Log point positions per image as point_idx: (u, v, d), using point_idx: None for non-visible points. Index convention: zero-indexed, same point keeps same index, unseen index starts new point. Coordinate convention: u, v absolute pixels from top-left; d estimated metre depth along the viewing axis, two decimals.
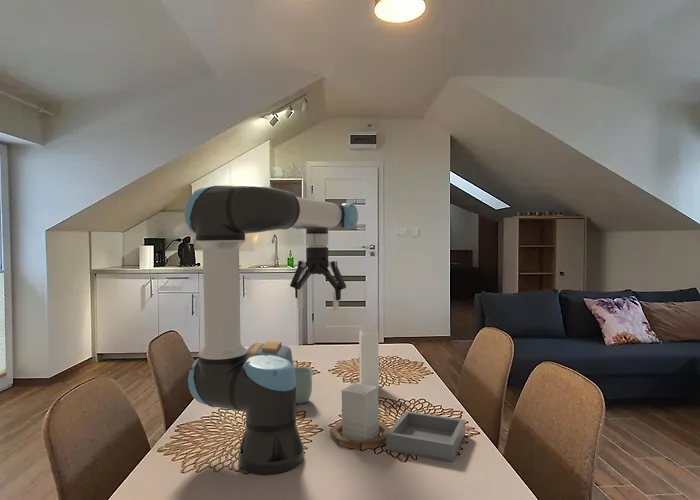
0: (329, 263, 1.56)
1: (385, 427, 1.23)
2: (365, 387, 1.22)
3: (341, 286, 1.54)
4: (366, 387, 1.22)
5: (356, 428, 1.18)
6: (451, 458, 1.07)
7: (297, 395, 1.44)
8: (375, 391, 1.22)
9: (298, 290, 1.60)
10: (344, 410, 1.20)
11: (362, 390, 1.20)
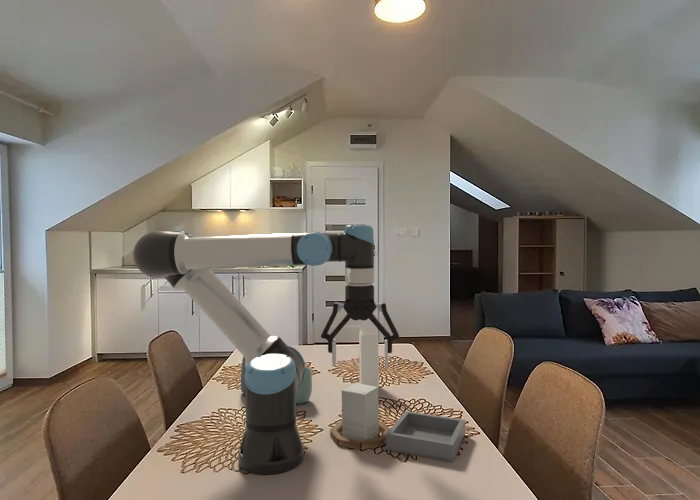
0: (377, 306, 1.21)
1: (385, 427, 1.23)
2: (365, 387, 1.22)
3: (396, 335, 1.20)
4: (366, 387, 1.22)
5: (356, 428, 1.18)
6: (451, 458, 1.07)
7: (297, 395, 1.44)
8: (375, 391, 1.21)
9: (333, 342, 1.21)
10: (344, 410, 1.20)
11: (362, 390, 1.20)
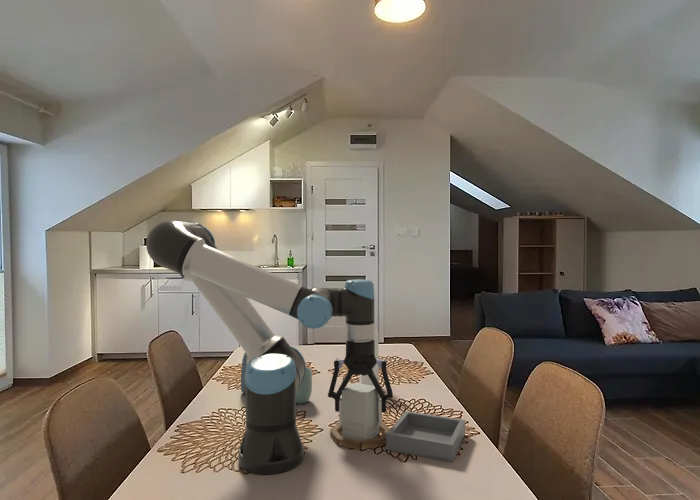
0: (378, 362, 1.21)
1: (385, 427, 1.23)
2: (365, 386, 1.22)
3: (390, 395, 1.20)
4: (366, 387, 1.22)
5: (356, 428, 1.18)
6: (451, 458, 1.07)
7: (297, 395, 1.44)
8: (376, 391, 1.22)
9: (340, 401, 1.21)
10: (344, 410, 1.20)
11: (362, 390, 1.20)
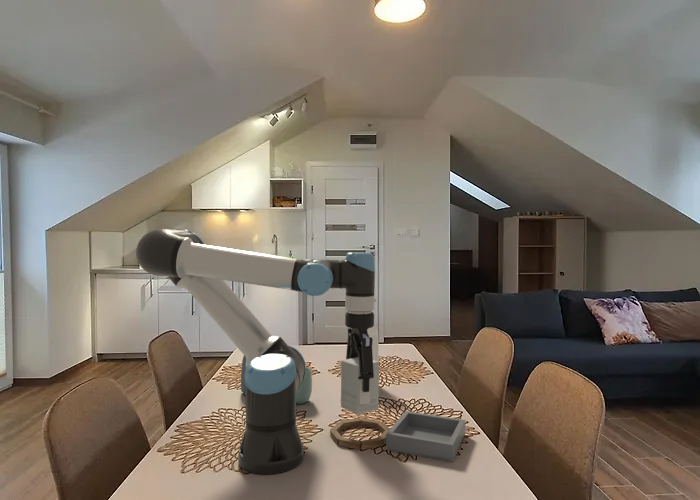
0: (363, 338, 1.17)
1: (385, 427, 1.23)
2: None
3: (363, 375, 1.14)
4: None
5: (351, 399, 1.19)
6: (451, 458, 1.07)
7: (297, 395, 1.44)
8: (375, 366, 1.20)
9: None
10: (342, 380, 1.22)
11: None
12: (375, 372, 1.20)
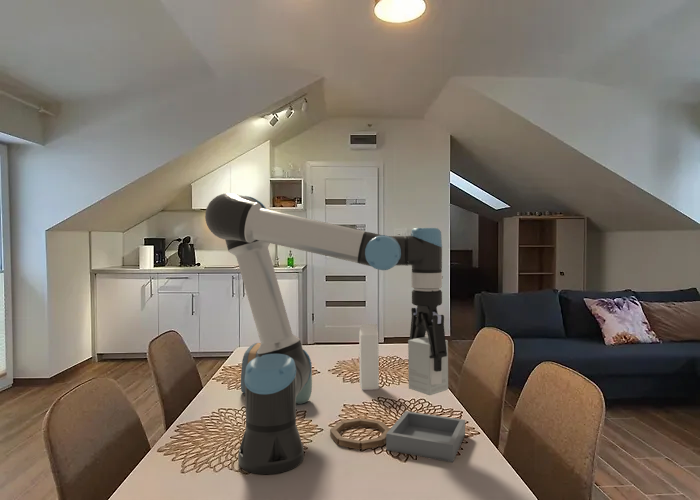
0: None
1: (385, 427, 1.23)
2: None
3: (436, 353, 1.10)
4: None
5: (421, 379, 1.15)
6: (451, 458, 1.07)
7: (297, 395, 1.44)
8: None
9: None
10: (410, 361, 1.17)
11: None
12: None
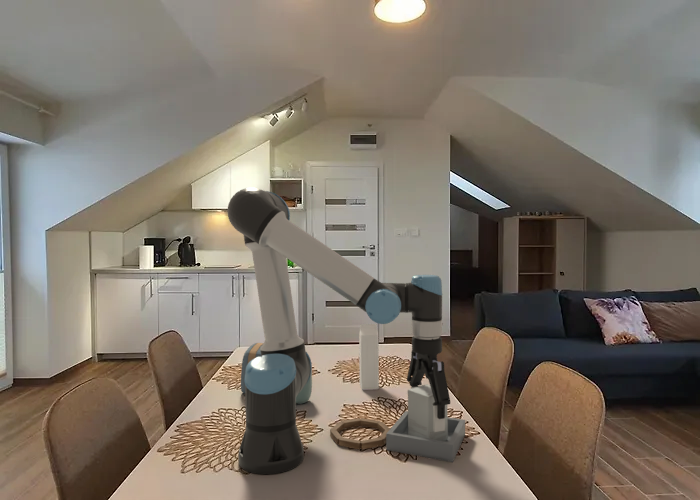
0: None
1: (385, 427, 1.23)
2: None
3: (439, 401, 1.08)
4: None
5: (420, 430, 1.15)
6: (451, 458, 1.07)
7: (297, 395, 1.44)
8: None
9: (411, 388, 1.23)
10: (409, 410, 1.18)
11: (428, 392, 1.16)
12: None
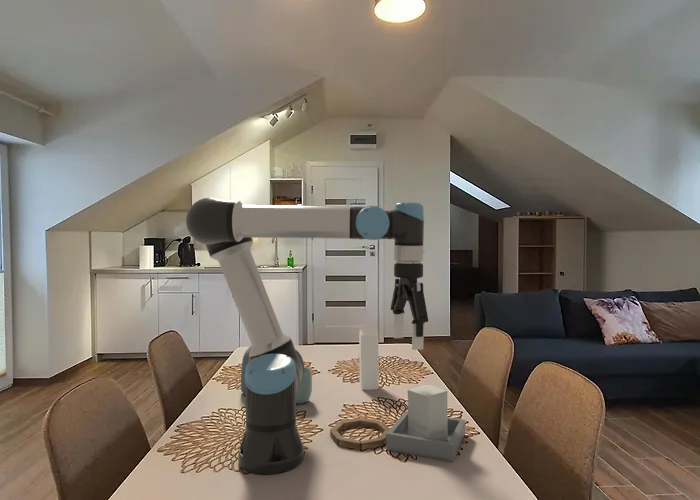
0: None
1: (385, 427, 1.23)
2: (433, 389, 1.18)
3: (417, 318, 1.12)
4: (433, 390, 1.18)
5: (420, 430, 1.15)
6: (451, 458, 1.07)
7: (297, 395, 1.44)
8: (443, 395, 1.16)
9: (394, 315, 1.28)
10: (409, 410, 1.18)
11: (428, 392, 1.16)
12: (444, 402, 1.16)
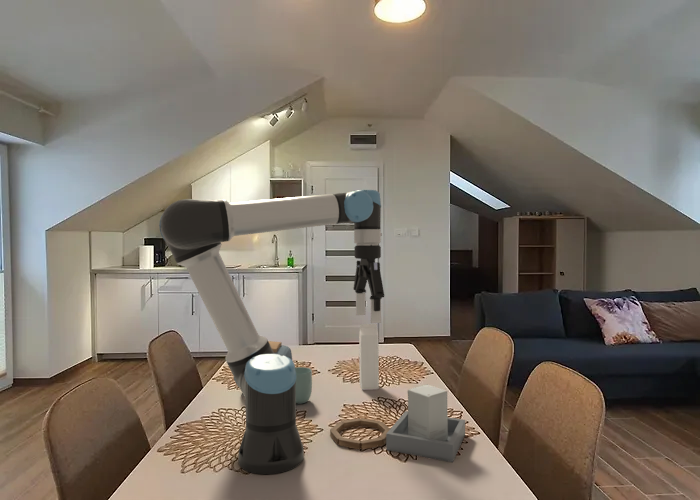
0: None
1: (385, 427, 1.23)
2: (433, 389, 1.18)
3: (374, 294, 1.24)
4: (433, 390, 1.18)
5: (420, 430, 1.15)
6: (451, 458, 1.07)
7: (297, 395, 1.44)
8: (443, 395, 1.16)
9: (356, 294, 1.39)
10: (409, 410, 1.18)
11: (428, 392, 1.16)
12: (444, 402, 1.16)
